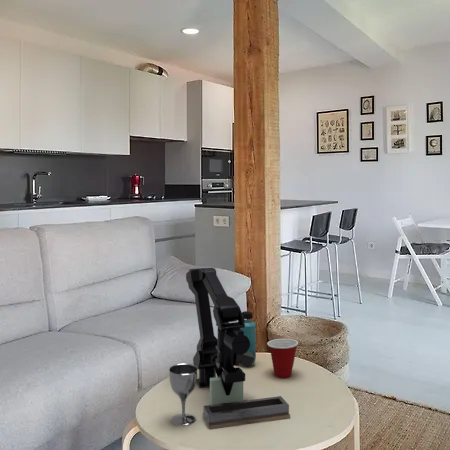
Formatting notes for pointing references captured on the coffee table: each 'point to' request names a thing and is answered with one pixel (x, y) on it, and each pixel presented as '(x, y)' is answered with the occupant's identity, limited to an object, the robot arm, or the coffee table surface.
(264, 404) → the grey long open box
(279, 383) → the coffee table surface
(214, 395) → the pale green rectangular block
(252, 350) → the beverage bottle
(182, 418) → the wine glass
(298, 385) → the coffee table surface
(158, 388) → the coffee table surface
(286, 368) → the plastic cup
